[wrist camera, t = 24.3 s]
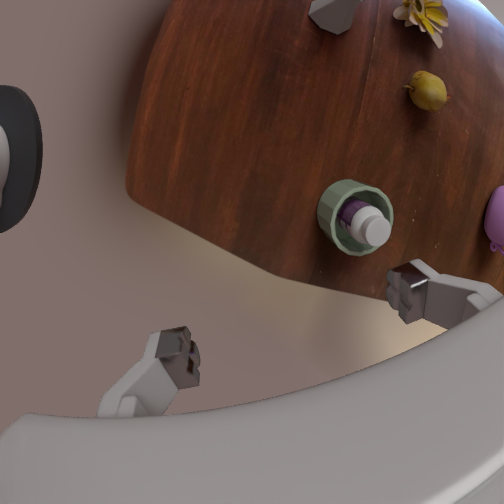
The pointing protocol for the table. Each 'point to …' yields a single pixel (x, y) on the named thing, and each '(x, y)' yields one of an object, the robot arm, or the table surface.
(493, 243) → the teapot
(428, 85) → the fruit
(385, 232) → the pill bottle
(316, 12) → the flask
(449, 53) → the table surface
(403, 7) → the decorative flower
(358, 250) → the crock
